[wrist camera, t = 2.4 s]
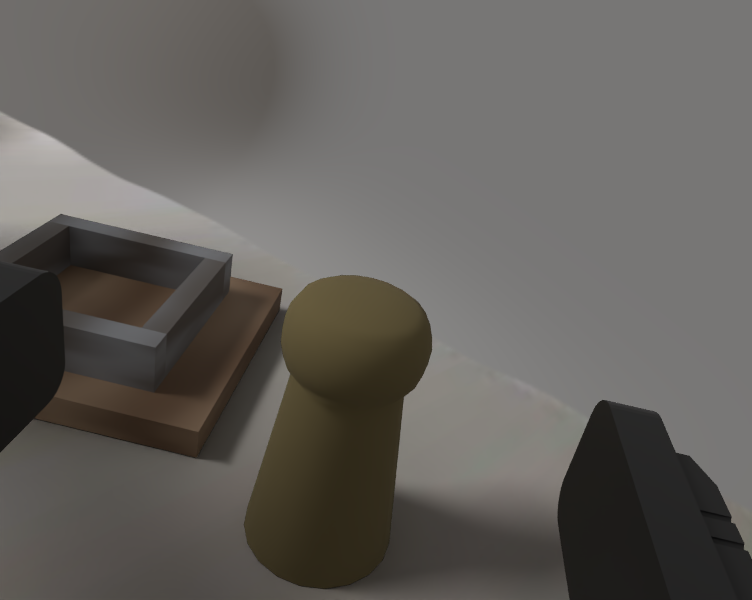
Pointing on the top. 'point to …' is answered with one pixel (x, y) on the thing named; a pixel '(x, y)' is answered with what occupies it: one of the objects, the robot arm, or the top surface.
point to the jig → (146, 331)
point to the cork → (337, 431)
